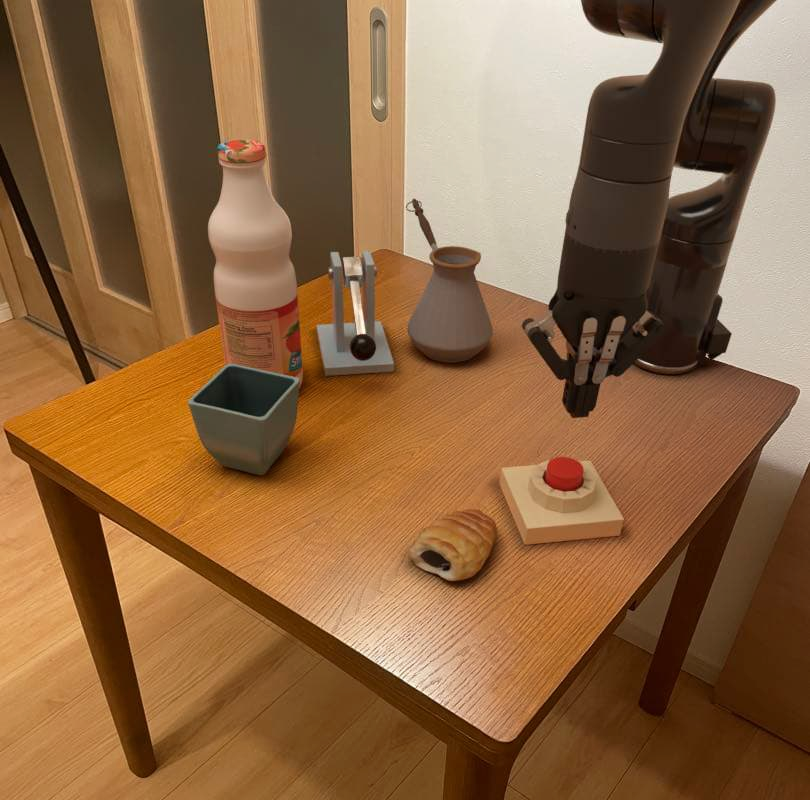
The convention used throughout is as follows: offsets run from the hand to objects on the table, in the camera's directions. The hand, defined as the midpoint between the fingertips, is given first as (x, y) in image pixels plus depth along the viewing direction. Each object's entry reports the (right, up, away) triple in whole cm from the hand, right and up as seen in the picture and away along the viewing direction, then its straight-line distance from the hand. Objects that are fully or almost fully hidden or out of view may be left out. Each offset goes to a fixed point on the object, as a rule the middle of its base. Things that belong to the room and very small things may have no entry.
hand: (577, 413), depth 75 cm
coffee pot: (-12, +17, +37) cm, 42 cm away
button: (0, -6, +5) cm, 8 cm away
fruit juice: (-34, +8, +25) cm, 43 cm away
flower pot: (-33, -3, +13) cm, 36 cm away
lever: (-22, +16, +24) cm, 37 cm away
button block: (0, -9, +8) cm, 12 cm away
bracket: (-23, +13, +32) cm, 42 cm away
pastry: (-12, -14, +3) cm, 18 cm away
